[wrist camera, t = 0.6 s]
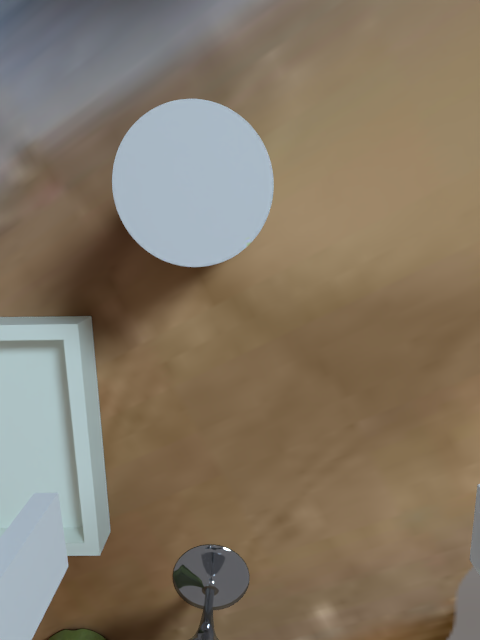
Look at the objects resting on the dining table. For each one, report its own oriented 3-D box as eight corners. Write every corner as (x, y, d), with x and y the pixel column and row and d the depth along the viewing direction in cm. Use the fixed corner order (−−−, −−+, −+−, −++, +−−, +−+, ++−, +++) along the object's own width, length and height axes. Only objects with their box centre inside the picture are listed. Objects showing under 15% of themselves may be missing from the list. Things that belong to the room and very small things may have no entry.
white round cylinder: (162, 255, 35) (121, 271, 23) (153, 146, 33) (103, 103, 22) (265, 249, 35) (276, 263, 23) (261, 139, 33) (270, 93, 21)
